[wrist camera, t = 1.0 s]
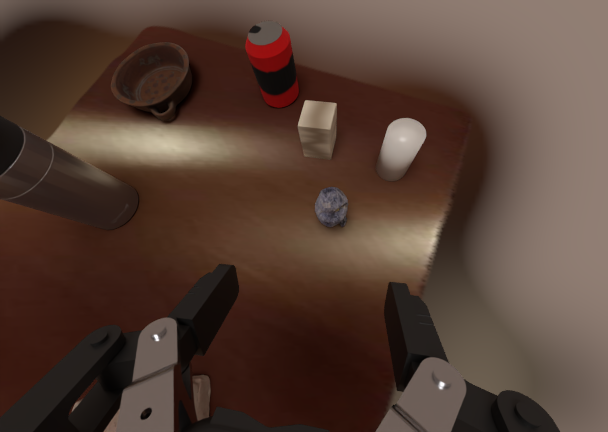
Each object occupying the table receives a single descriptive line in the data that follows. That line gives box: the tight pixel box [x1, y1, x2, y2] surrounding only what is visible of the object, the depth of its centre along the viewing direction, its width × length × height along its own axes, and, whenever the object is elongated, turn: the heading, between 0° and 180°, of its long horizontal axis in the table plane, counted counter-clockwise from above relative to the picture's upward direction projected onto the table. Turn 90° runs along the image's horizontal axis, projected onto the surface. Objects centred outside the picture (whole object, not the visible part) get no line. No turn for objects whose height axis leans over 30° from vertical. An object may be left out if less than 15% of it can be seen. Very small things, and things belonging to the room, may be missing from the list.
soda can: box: [245, 21, 299, 108], centre depth 42 cm, size 8×8×12 cm
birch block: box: [298, 100, 337, 160], centre depth 39 cm, size 5×5×8 cm
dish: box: [111, 42, 192, 120], centre depth 51 cm, size 18×22×5 cm
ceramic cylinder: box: [376, 118, 426, 181], centre depth 35 cm, size 5×5×9 cm
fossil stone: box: [315, 187, 348, 227], centre depth 33 cm, size 5×5×10 cm
